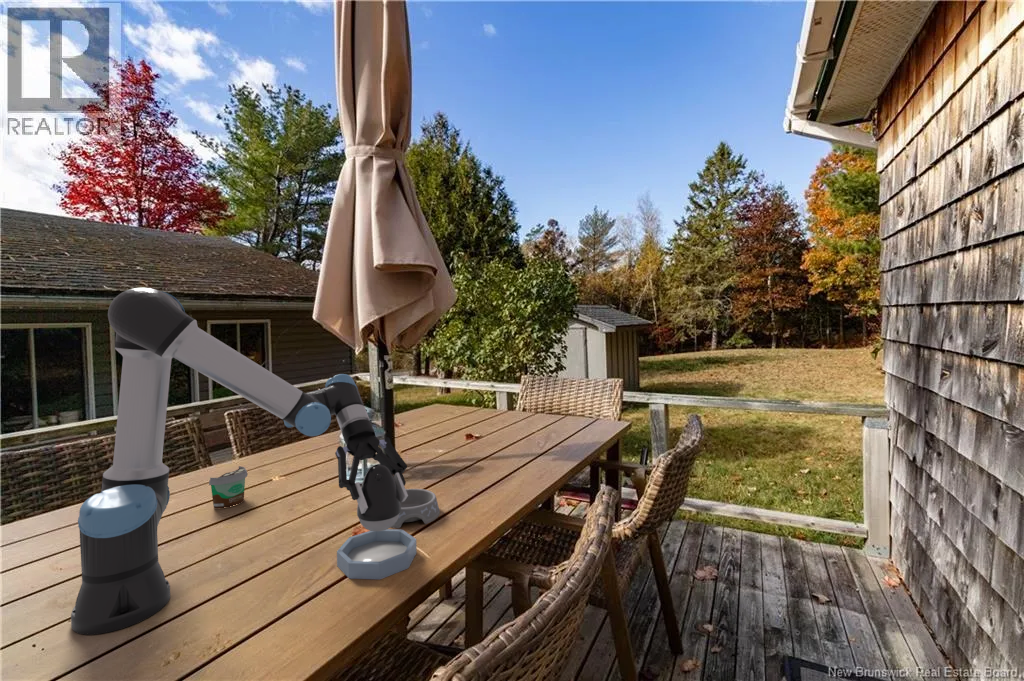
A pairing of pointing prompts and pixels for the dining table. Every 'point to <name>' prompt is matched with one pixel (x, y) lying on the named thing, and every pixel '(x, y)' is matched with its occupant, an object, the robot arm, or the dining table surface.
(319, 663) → the dining table surface
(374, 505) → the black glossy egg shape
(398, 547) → the bowl
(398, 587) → the dining table surface
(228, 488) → the food container
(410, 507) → the dog bowl
